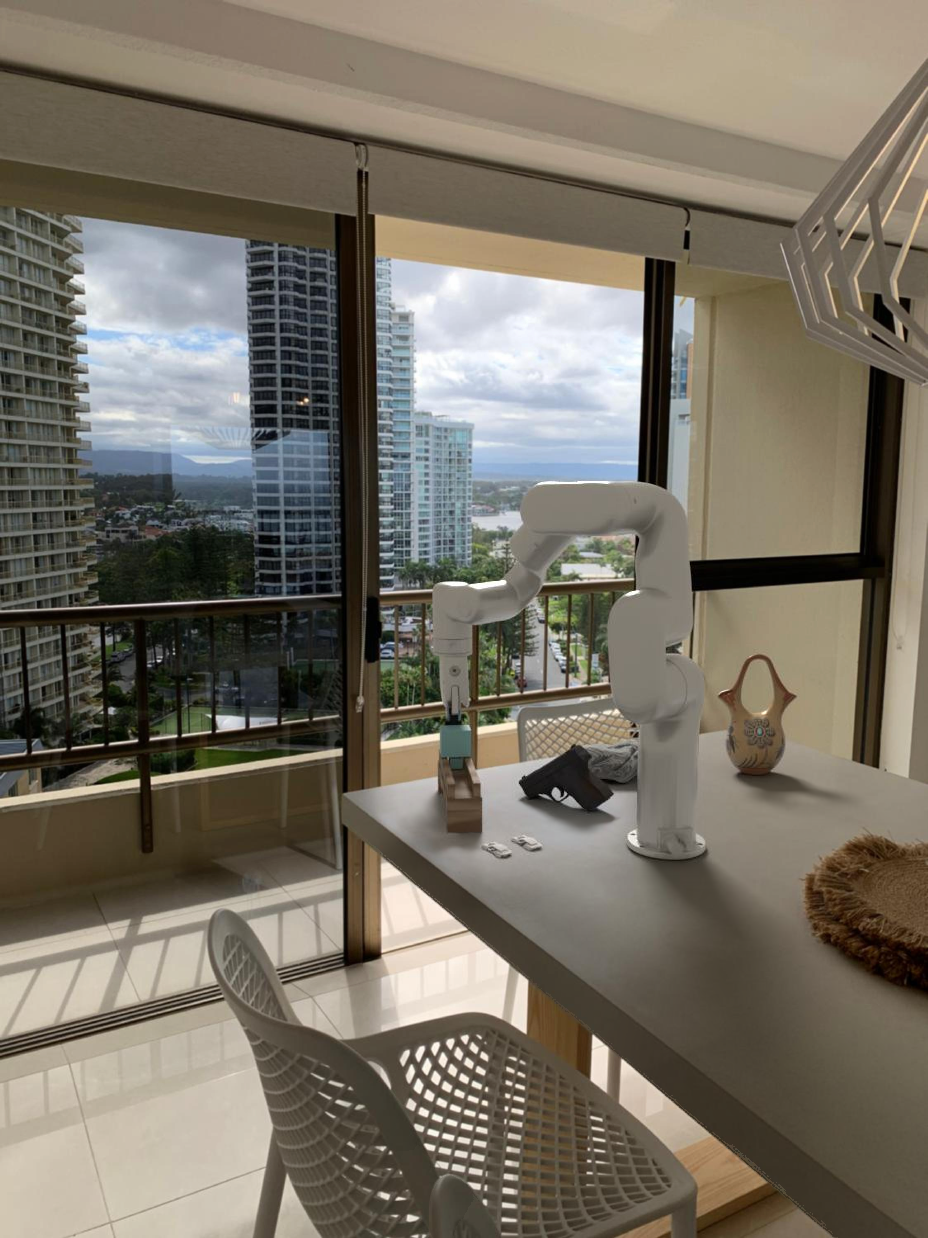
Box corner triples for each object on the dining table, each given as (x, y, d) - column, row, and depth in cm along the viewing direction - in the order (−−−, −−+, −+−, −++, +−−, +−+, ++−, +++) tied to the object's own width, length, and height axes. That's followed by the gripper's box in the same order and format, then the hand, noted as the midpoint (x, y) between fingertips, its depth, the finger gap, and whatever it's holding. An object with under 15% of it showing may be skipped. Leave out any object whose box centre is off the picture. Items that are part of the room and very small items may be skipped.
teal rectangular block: (471, 769, 172) (471, 730, 171) (441, 770, 171) (441, 731, 170) (469, 763, 176) (468, 724, 175) (440, 764, 176) (439, 725, 175)
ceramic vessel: (785, 766, 195) (789, 649, 192) (801, 778, 186) (806, 656, 183) (708, 767, 195) (712, 650, 192) (721, 779, 186) (725, 657, 183)
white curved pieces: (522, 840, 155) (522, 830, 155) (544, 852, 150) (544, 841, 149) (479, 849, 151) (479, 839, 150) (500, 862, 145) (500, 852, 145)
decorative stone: (560, 756, 192) (579, 713, 191) (608, 770, 199) (627, 729, 198) (598, 787, 179) (619, 741, 178) (648, 801, 186) (669, 757, 185)
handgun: (607, 801, 164) (573, 743, 167) (544, 836, 173) (514, 780, 176) (616, 796, 167) (583, 739, 170) (554, 831, 176) (524, 776, 179)
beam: (483, 831, 157) (483, 784, 156) (446, 833, 157) (446, 785, 156) (469, 788, 181) (468, 747, 180) (437, 789, 180) (436, 748, 179)
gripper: (476, 652, 169) (476, 749, 171) (468, 640, 184) (469, 730, 186) (435, 653, 168) (436, 750, 170) (430, 641, 183) (432, 731, 185)
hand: (453, 739), depth 178 cm, fingers closed
